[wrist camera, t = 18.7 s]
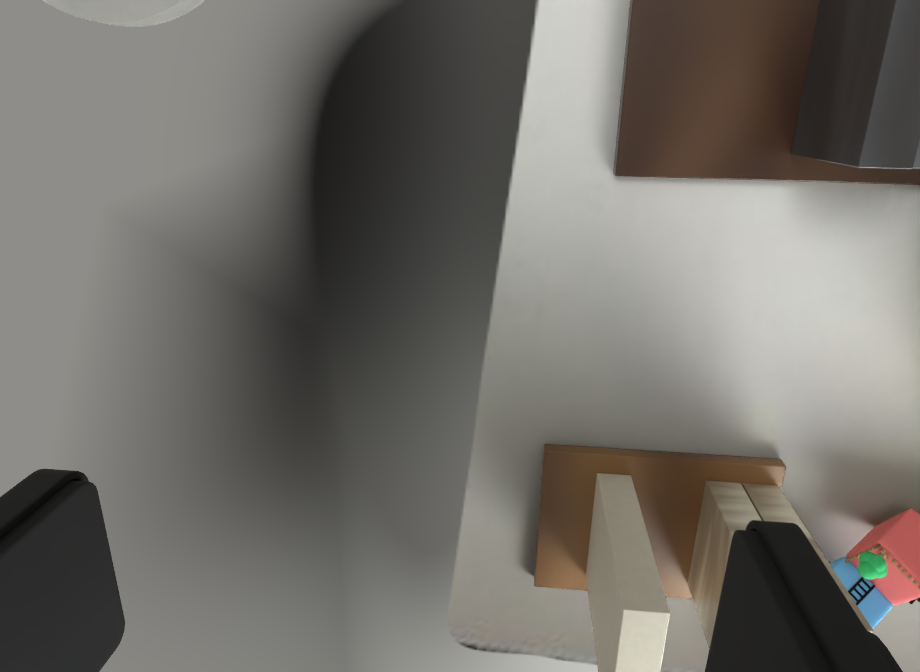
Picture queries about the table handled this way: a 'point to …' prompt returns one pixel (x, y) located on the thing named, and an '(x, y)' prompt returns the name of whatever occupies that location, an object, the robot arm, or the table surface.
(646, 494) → the cream board
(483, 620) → the table surface
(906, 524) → the building blocks
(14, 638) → the robot arm
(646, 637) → the cream book
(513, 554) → the table surface
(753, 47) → the grey board
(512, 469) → the table surface
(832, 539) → the table surface
